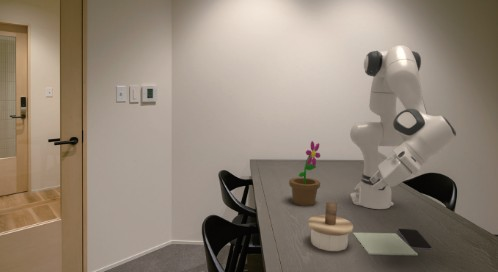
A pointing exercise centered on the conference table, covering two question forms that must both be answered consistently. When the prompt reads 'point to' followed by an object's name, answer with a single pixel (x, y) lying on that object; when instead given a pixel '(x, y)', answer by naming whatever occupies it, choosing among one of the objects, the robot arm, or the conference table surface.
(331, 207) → the lid
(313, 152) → the flowerpot
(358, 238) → the mat
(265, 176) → the conference table surface
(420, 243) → the smartphone
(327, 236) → the bowl
